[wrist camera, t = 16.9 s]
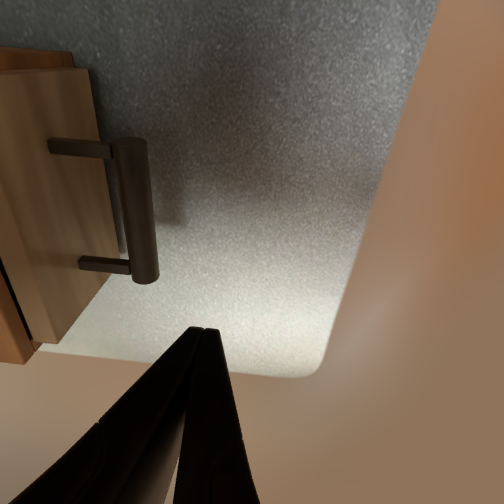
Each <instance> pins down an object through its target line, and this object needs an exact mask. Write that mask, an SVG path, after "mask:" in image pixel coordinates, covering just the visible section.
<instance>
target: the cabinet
mask: <svg viewBox="0 0 504 504" xmlns="http://www.w3.org/2000/svg"><path fill="white" fill-rule="evenodd" d="M53 67H73V68H74V66H73V61H72V55H71V53H70V52H62V51H50V50H39V49H27V48H15V47H3V46H0V71H7V70H22V69H38V68H53ZM41 345H42V343H41V342H35V341H34V340H33V337H32V335H31V332H30V330H29V328H28V325H27V323H26V320H25V318H24V315H23V313H22V310H20V311H19V312H18V311H17V308H16V306H15V304H14V301H13V299H12V296H11V294H10V291H9V289H8V287H7V284H6V282H5V279H4V277H3V275H2V272H1V270H0V362H4V363H13V364H21V365H24V364H26V362H27V361H28V360H29V359H30V358H31V356H32V355H33V354H34V352H36V351H37V350H38V348H39V347H40V346H41Z"/></svg>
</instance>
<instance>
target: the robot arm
mask: <svg viewBox="0 0 504 504" xmlns="http://www.w3.org/2000/svg"><path fill="white" fill-rule="evenodd" d="M98 422H99V423H95V424H94V425H93V426H92V427H91V428H90V429H89V430H88V431H87V432H86V433H85V434H84V435H83V436H82V437H81V438H80V439H79V440H78V441H77V442H76V443H75V444H74V445H73V446H72V447H71V448H70V449H69V450H68V451H67V452H66V453H65V454H64V455H63V456H62V457H61V458H60V459H59V460H57V462H55V463H54V464H53V465H52V466H51V467H50V468H49V469H47V470H46V471H45V472H44V473H43V474H42V475H41V476H40V477H39V478H37V479H36V480H35V481H34V482H33V483H32V484H30V485H29V486H28V487H27V488H26V489H25V490H24V491H22V492H21V493H20V494H19V495H18V496H17V497H16V498H14V499H13V500H12V501H11V502H10V503H9V504H164V502H165V499H166V495H167V492H168V489H169V486H170V483H171V479H172V476H173V473H174V470H175V467H176V463H177V460H178V457H179V463H178V470H177V477H176V484H175V491H174V498H173V504H260V501H259V498H258V495H257V492H256V489H255V486H254V482H253V479H252V475H251V471H250V467H249V463H248V459H247V455H246V450H245V445H244V441H243V440H242V432H241V428H240V423H239V418H238V414H237V409H236V405H235V400H234V396H233V391H232V386H231V381H230V377H229V372H228V368H227V363H226V358H225V354H224V349H223V344H222V340H221V335H220V331H219V330H218V329H212V328H206V329H205V330H204V328H202V327H194V326H191V327H189V328H188V329H187V330H186V331H185V332H184V333H183V334H182V335H181V336H180V337H179V338H178V339H177V340H176V341H175V342H174V343H173V344H172V345H171V346H170V347H169V348H168V349H167V350H166V351H165V352H164V353H163V354H162V355H161V357H160V358H159V359H158V360H157V361H156V362H155V363H154V364H153V365H152V366H151V367H150V368H149V369H148V370H147V371H146V372H145V373H144V374H143V375H142V376H141V377H140V378H139V379H138V380H137V381H136V382H135V383H134V384H133V385H132V386H131V387H130V388H129V389H128V390H127V392H125V393H124V395H123V396H122V397H121V398H120V399H119V400H118V401H117V402H116V403H115V404H114V405H113V406H112V407H111V408H110V409H109V410H108V411H107V412H106V413H105V414H104V415H103V416H102V417H101V418H100V419H99V421H98ZM179 454H180V456H179Z"/></svg>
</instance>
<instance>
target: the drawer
mask: <svg viewBox="0 0 504 504" xmlns="http://www.w3.org/2000/svg"><path fill="white" fill-rule="evenodd" d="M103 159H110V160H111V159H114V166H115V172H116V179H117V185H118V192H119V198H120V205H121V211H122V217H123V224H124V230H125V237H126V243H127V250H128V256H129V260H127V259H120V255H119V249H118V243H117V237H116V231H115V226H114V220H113V214H112V208H111V202H110V197H109V191H108V185H107V179H106V173H105V168H104V162H103ZM0 258H1V259H0V270H1V272H2V275H3V277H4V279H5V282H6V284H7V287H8V289H9V291H10V294H11V296H12V299H13V301H14V304H15V306H16V308H17V311H18V312H19V311H20V310H22V313H23V315H24V318H25V320H26V323H27V325H28V328H29V330H30V332H31V335H32V337H33V340H34V341H35V342H41V343H50V344H58V343H59V342H60V341H61V339H62V338H63V337H64V335H65V334H66V333H67V331H68V330H69V329H70V328H71V326H72V325H73V324H74V322H75V321H76V320H77V318H78V317H79V316H80V314H81V313H82V312H83V311H84V309H85V308H86V307H87V305H88V304H89V303H90V301H91V300H92V299H93V298H94V296H95V295H96V294H97V292H98V291H99V290H100V288H101V287H102V286H103V284H104V283H105V282H106V281H107V279H108V278H109V277H110V275H111V274H112V273H115V274H124V275H130V274H131V275H132V280H133V281H134V282H135V283H137V284H150V283H153V282H155V281H156V280H157V279H158V278H159V276H160V273H159V263H158V253H157V243H156V232H155V222H154V212H153V202H152V192H151V181H150V171H149V161H148V151H147V142H146V140H145V139H142V138H138V137H120V138H115V139H113V140H111V142H103V141H100V138H99V133H98V127H97V121H96V115H95V109H94V104H93V98H92V92H91V86H90V80H89V75H88V70H87V69H85V68H73V67H53V68H38V69H22V70H7V71H0Z"/></svg>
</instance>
